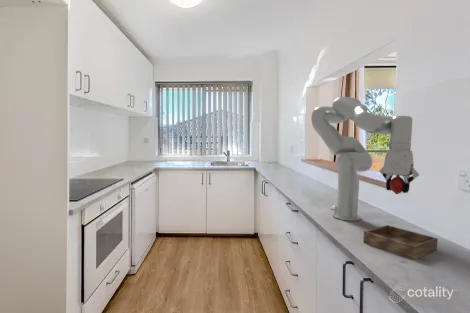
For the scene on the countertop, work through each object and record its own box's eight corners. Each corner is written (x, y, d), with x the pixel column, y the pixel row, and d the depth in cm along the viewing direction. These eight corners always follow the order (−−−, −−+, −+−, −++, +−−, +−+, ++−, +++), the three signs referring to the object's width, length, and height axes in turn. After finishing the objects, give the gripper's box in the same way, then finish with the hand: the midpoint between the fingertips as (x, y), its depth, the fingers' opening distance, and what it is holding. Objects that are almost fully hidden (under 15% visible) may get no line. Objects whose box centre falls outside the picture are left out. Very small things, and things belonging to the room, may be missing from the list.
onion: (389, 192, 129) (390, 173, 129) (405, 193, 126) (406, 174, 126) (388, 194, 124) (389, 174, 123) (404, 196, 121) (406, 175, 121)
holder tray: (363, 242, 114) (364, 231, 113) (386, 235, 123) (387, 225, 122) (414, 259, 99) (415, 246, 98) (436, 250, 108) (437, 238, 108)
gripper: (374, 145, 129) (372, 188, 130) (418, 147, 115) (415, 195, 116) (384, 145, 133) (381, 187, 134) (427, 147, 119) (424, 194, 120)
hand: (397, 190), depth 125 cm, fingers closed on onion, 5 cm apart
